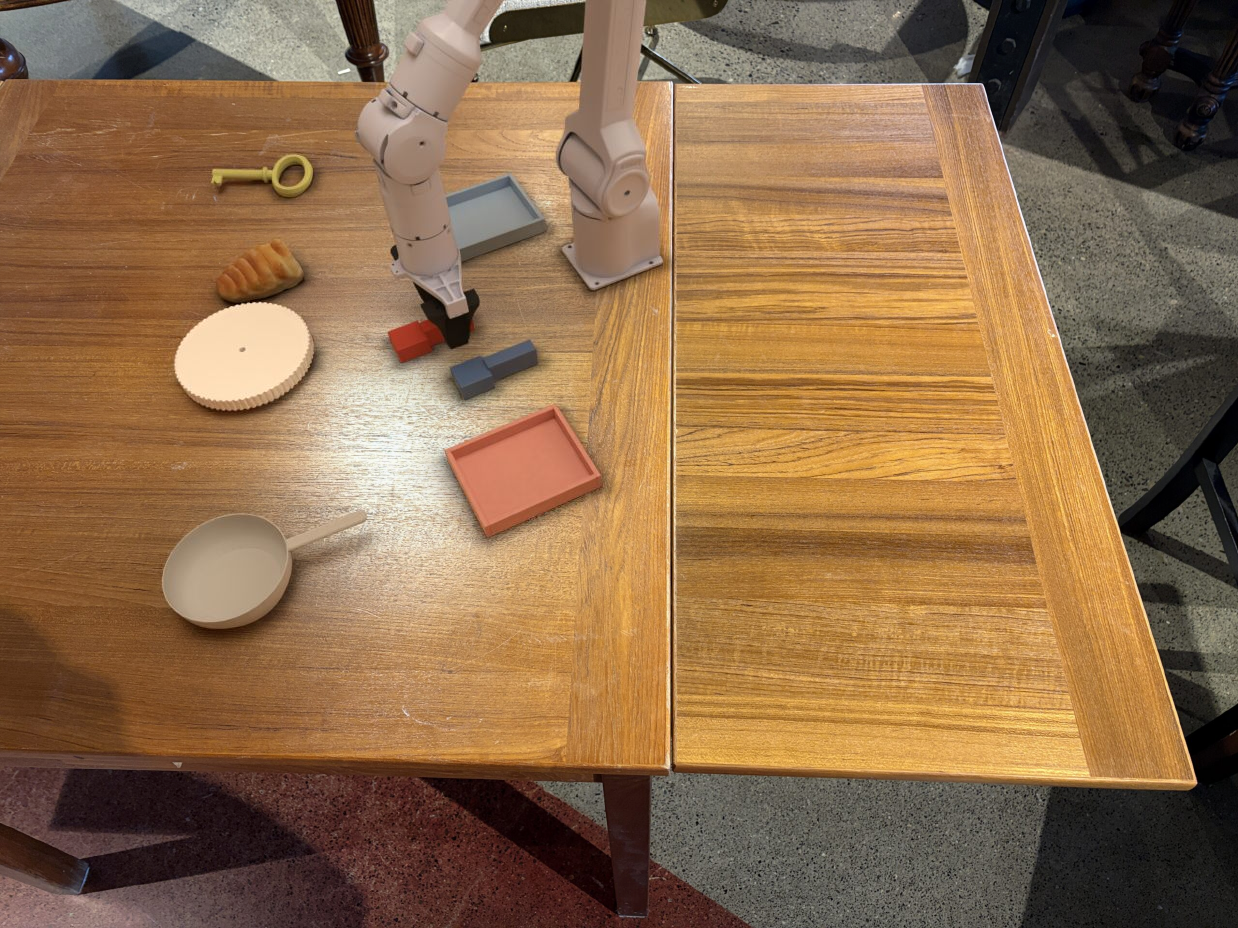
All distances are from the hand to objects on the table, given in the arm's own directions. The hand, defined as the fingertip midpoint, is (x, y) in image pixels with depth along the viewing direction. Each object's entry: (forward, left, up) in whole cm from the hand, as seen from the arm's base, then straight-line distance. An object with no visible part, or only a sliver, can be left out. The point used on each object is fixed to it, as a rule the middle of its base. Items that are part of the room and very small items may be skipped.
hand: (445, 321), depth 97 cm
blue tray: (-11, -15, -2) cm, 18 cm away
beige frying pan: (+24, +20, -2) cm, 32 cm away
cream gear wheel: (+20, -6, -2) cm, 21 cm away
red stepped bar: (+1, 0, -2) cm, 2 cm away
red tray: (0, +21, -2) cm, 21 cm away
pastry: (+15, -18, -2) cm, 24 cm away
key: (+10, -36, -2) cm, 38 cm away
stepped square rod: (-3, +8, -2) cm, 9 cm away
